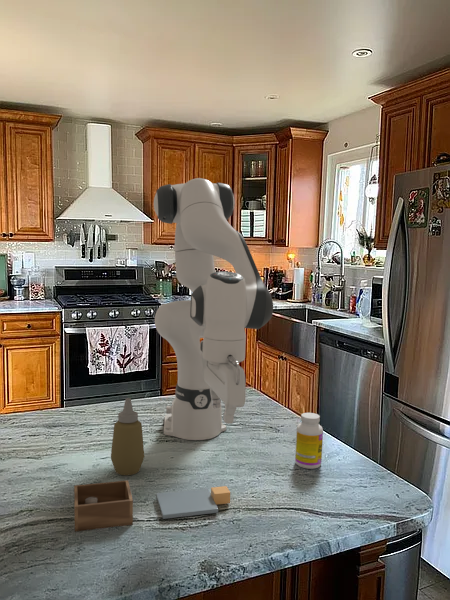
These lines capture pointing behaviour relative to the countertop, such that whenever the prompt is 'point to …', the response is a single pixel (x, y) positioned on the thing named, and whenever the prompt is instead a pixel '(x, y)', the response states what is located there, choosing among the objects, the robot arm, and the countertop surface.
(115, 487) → the walnut box
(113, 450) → the squeeze bottle
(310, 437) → the supplement bottle
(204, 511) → the lid
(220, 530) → the countertop surface
